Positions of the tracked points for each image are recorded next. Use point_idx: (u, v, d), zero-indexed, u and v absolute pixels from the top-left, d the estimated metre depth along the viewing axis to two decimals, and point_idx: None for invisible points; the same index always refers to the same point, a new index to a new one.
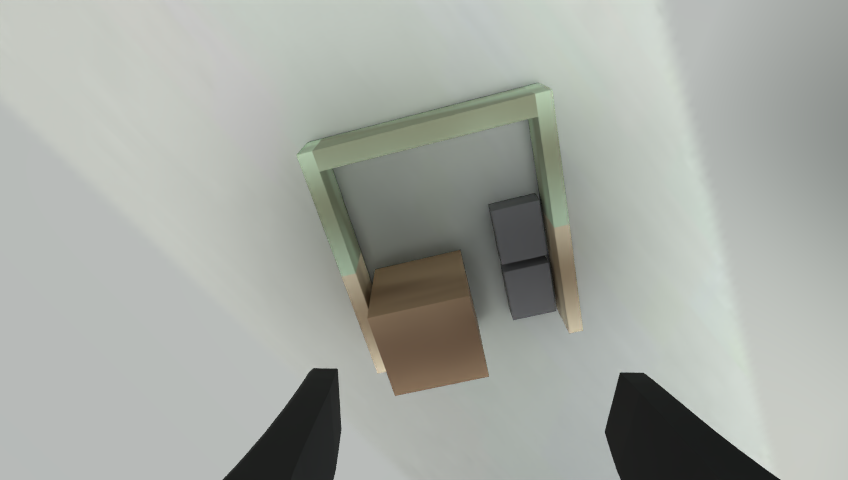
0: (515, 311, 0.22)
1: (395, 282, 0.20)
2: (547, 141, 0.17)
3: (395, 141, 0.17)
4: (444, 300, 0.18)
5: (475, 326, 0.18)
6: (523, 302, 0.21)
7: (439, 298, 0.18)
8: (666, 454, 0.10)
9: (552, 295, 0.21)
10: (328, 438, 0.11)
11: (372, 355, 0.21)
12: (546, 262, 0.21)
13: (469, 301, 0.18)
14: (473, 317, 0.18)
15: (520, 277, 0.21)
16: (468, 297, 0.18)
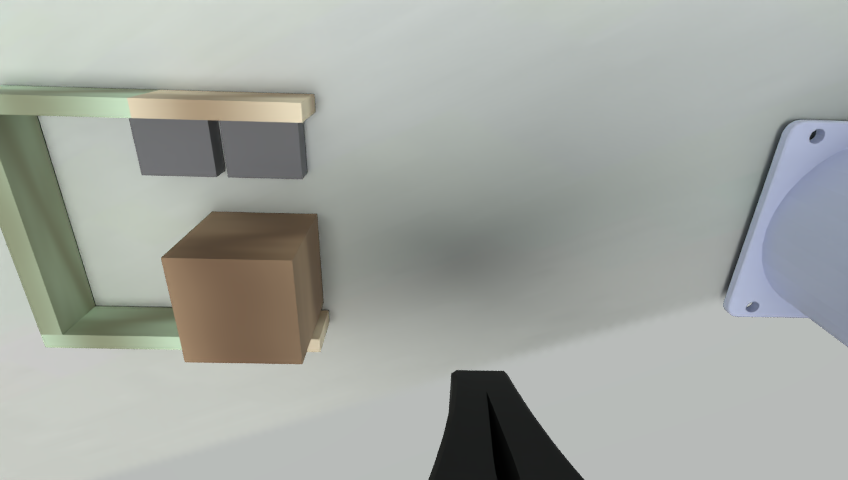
0: (288, 173, 0.16)
1: None
2: (14, 108, 0.14)
3: (25, 263, 0.16)
4: (168, 283, 0.15)
5: (208, 260, 0.14)
6: (276, 161, 0.16)
7: (172, 286, 0.15)
8: (498, 452, 0.10)
9: (271, 122, 0.16)
10: None
11: None
12: (220, 122, 0.16)
13: (170, 259, 0.14)
14: (195, 259, 0.14)
15: (238, 158, 0.16)
16: (163, 259, 0.14)
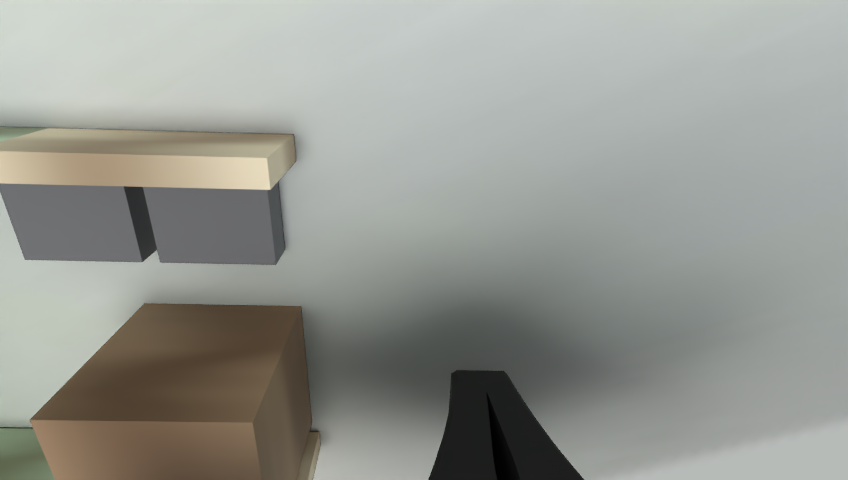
0: (254, 256, 0.11)
1: None
2: None
3: None
4: (47, 454, 0.09)
5: (110, 422, 0.09)
6: (235, 239, 0.10)
7: (57, 453, 0.09)
8: (498, 452, 0.10)
9: None
10: None
11: None
12: None
13: (46, 421, 0.09)
14: (88, 421, 0.09)
15: (174, 235, 0.10)
16: (34, 421, 0.08)
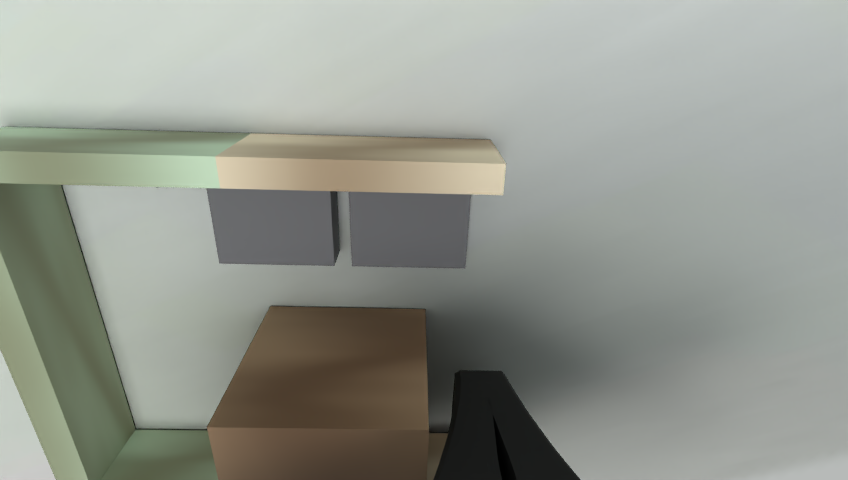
0: (445, 260, 0.11)
1: None
2: (24, 173, 0.08)
3: (39, 399, 0.11)
4: (215, 461, 0.09)
5: (287, 430, 0.08)
6: (429, 243, 0.10)
7: (222, 460, 0.09)
8: None
9: None
10: None
11: None
12: None
13: (222, 428, 0.08)
14: (264, 428, 0.08)
15: (370, 239, 0.10)
16: (211, 429, 0.08)
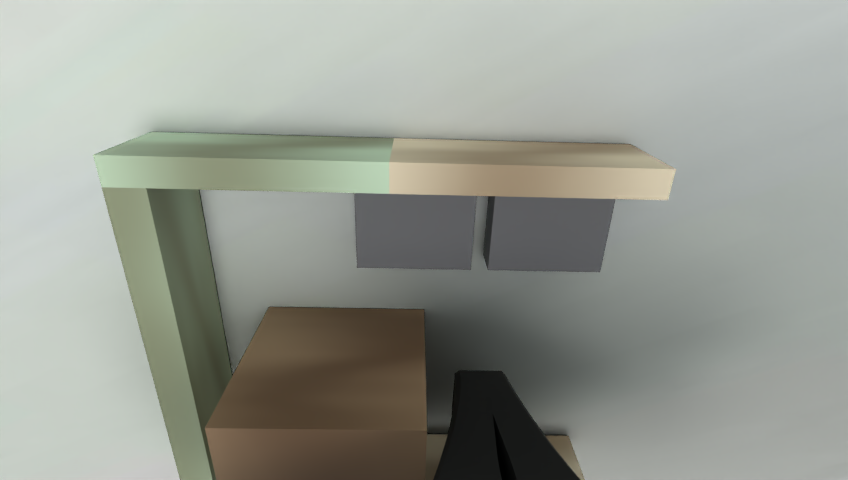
0: (581, 263, 0.11)
1: None
2: (197, 178, 0.09)
3: (177, 403, 0.11)
4: (214, 462, 0.09)
5: (285, 430, 0.08)
6: (568, 247, 0.11)
7: (219, 461, 0.09)
8: None
9: None
10: None
11: None
12: None
13: (220, 429, 0.08)
14: (262, 429, 0.08)
15: (510, 243, 0.10)
16: (209, 430, 0.08)
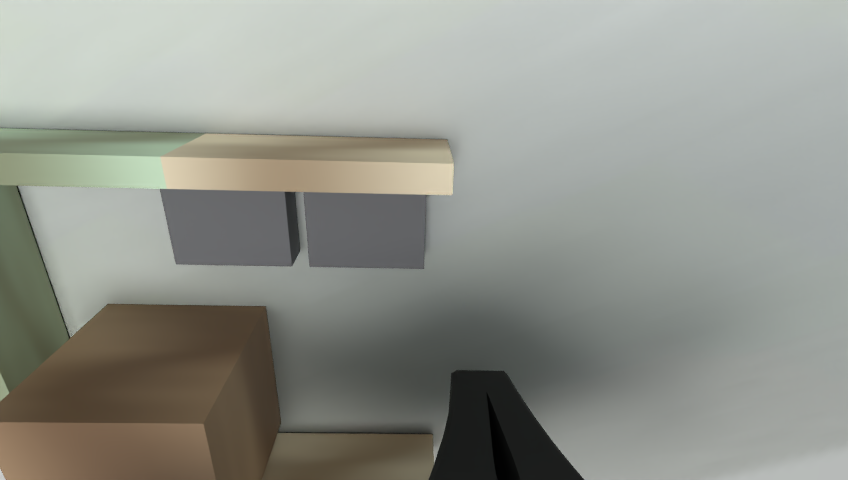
0: (403, 260, 0.11)
1: None
2: None
3: None
4: None
5: (60, 424, 0.08)
6: (387, 244, 0.10)
7: (10, 456, 0.09)
8: (498, 452, 0.10)
9: None
10: None
11: None
12: None
13: None
14: (37, 422, 0.08)
15: (327, 239, 0.10)
16: None
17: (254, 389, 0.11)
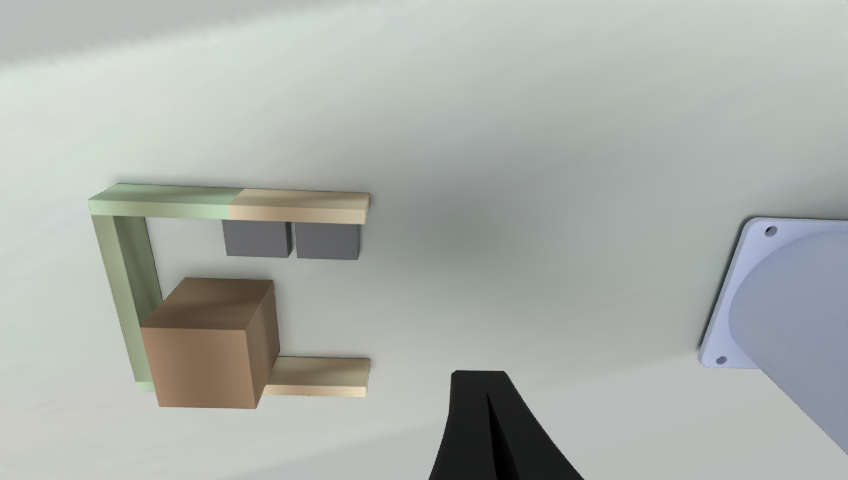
0: (346, 255, 0.20)
1: None
2: (136, 211, 0.18)
3: (130, 326, 0.20)
4: (145, 346, 0.18)
5: (177, 329, 0.18)
6: (337, 246, 0.20)
7: (148, 347, 0.19)
8: (498, 452, 0.10)
9: None
10: None
11: (343, 395, 0.22)
12: None
13: (147, 328, 0.18)
14: (167, 328, 0.18)
15: (306, 244, 0.20)
16: (141, 328, 0.18)
17: (266, 324, 0.21)
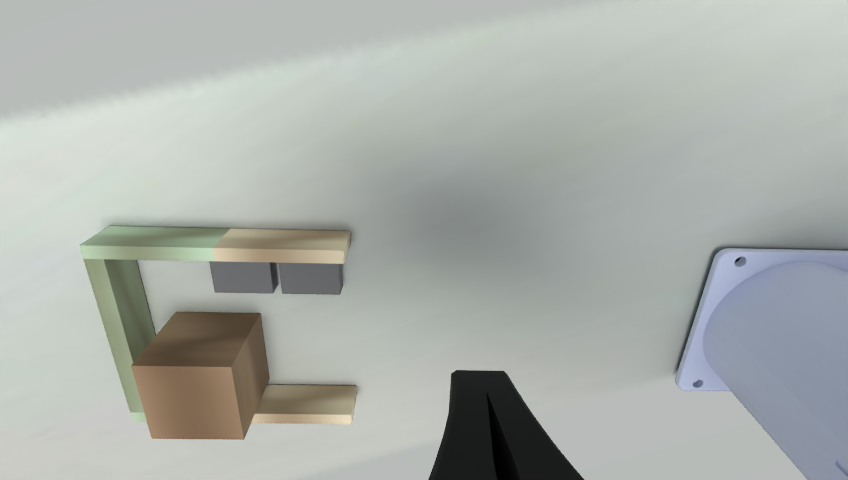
0: (329, 290, 0.21)
1: None
2: (126, 255, 0.19)
3: (123, 361, 0.21)
4: (136, 383, 0.19)
5: (167, 367, 0.19)
6: (320, 282, 0.21)
7: (140, 383, 0.20)
8: (498, 452, 0.10)
9: None
10: None
11: (330, 422, 0.23)
12: None
13: (137, 366, 0.19)
14: (157, 366, 0.19)
15: (290, 280, 0.21)
16: (132, 366, 0.19)
17: (254, 356, 0.22)
